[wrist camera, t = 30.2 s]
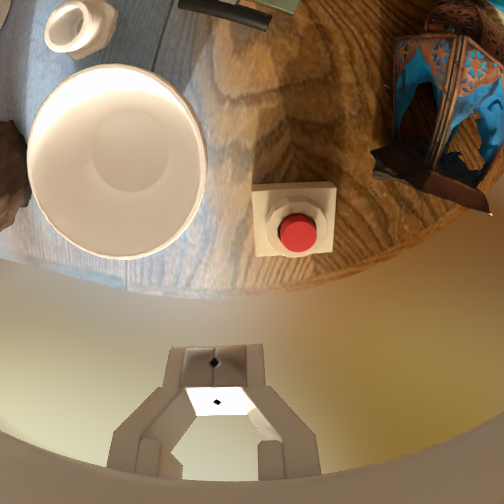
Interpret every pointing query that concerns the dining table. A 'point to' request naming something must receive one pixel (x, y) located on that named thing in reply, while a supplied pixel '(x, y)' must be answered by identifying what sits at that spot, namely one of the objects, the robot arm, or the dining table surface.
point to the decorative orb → (497, 4)
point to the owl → (12, 173)
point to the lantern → (448, 101)
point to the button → (298, 233)
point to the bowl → (117, 161)
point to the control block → (289, 203)
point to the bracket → (279, 5)
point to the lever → (228, 12)
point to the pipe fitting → (81, 27)
